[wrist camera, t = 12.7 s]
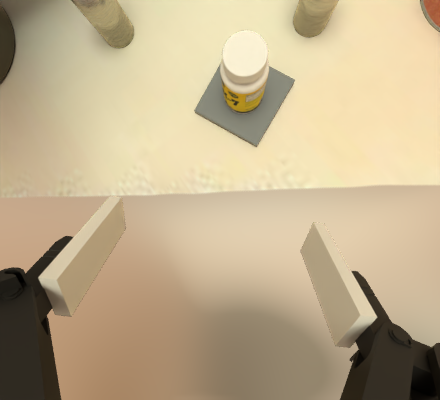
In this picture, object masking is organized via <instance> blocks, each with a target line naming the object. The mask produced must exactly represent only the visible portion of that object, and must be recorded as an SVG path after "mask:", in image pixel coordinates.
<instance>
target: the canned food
mask: <svg viewBox="0 0 440 400" xmlns="http://www.w3.org/2000/svg"><path fill="white" fill-rule="evenodd" d="M420 2H421V7H422V10H423V13H424V15H425V17H426V18H427V20H428V21H429V23H430V24H431V25H432V26H433V27H434V28H435V29H436V30H438V31H439V32H440V0H420Z"/></svg>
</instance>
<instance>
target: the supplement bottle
mask: <svg viewBox="0 0 440 400" xmlns="http://www.w3.org/2000/svg"><path fill="white" fill-rule="evenodd" d="M268 73H269V62H268V47H267V44H266V42H265V40H264V39H263V37H262V36H261V35H259V34H258V33H256V32H254V31H249V30H243V31H239V32H237V33H235V34H233V35H232V36H230V37H229V38H228V40H227V41H226V43H225V44H224V47H223V51H222V61H221V65H220V75H221V81H222V87H223V93H224V99H225V102H226V104H227V106H228V107H229V108H230V109H231V110H232V111H234V112H235V113H238V114H247V113H250V112H252V111H254V110H255V109H256V108H257V107H258V106H259V105H260V103H261V101H262V98H263V94H264V90H265V86H266V82H267V78H268Z"/></svg>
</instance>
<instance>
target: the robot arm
mask: <svg viewBox="0 0 440 400" xmlns="http://www.w3.org/2000/svg"><path fill="white" fill-rule="evenodd" d="M13 54H14V33H13V28H12V25H11V22H10V20H9V18H8V16H7V14H6V12H5V11H4V9H3V8H2V7H1V6H0V82H1V81H2V80H3V79H4V77H5V75H6V74H7V72H8V70H9V68H10V65H11V62H12V59H13ZM125 229H126V227H125V219H124V211H123V202H122V197H117V196H110V197H109V198H108V199H107V200H106V201H105V202H104V203H103V205H102V206H101V207H100V208H99V209H98V210H97V211H96V212H95V214H94V215H93V216H92V217H91V218H90V219H89V220H88V222H87V223H86V224H85V225H84V226H83V227H82V228H81V230H80V231H79V232H78V233H77V234H76V235H75V236H74V237H71V236H65V237H63V238H62V239H60V240H58V241H57V242H55V243H54V244H53V245H52V247H51V248H50V249H49V251H47V252H46V253H45V254H44V255H43V257H41V258H40V259H39V260H38V261H37V262H36V263H35V264H34V265H33V266H32V267H31V269H29V270H28V272H27V273H26V274H25V272H24V270H23V269H21V268H8V269H4V270H1V271H0V400H61V396H60V389H59V383H58V377H57V371H56V365H55V358H54V352H53V346H52V340H51V334H50V328H49V321H48V318H47V314H48V313H49V311H50V310H51V309H53V311H54V313H55V315H61V316H72V315H73V313H74V311H75V310H76V308H77V307H78V305H79V304H80V302H81V300H82V299H83V297H84V295H85V294H86V292H87V291H88V289H89V287H90V286H91V284H92V283H93V281H94V279H95V278H96V276H97V274H98V273H99V271H100V270H101V268H102V266H103V265H104V263H105V262H106V260H107V258H108V257H109V255H110V253H111V252H112V250H113V248H114V247H115V245H116V244H117V242H118V240H119V239H120V237H121V235H122V234H123V232H124V231H125ZM301 254H302V256H303V259H304V262H305V265H306V267H307V270H308V273H309V275H310V278H311V281H312V284H313V286H314V289H315V292H316V295H317V297H318V300H319V303H320V306H321V308H322V311H323V314H324V316H325V319H326V322H327V325H328V328H329V330H330V333H331V336H332V338H333V341H334V344H335V346H339V347H348V348H350V347H351V346H352V345H353V343H355V342H356V344H357V346H358V348H359V350H358V351H357V352H356V353H355V354H354V355H353V356H352V357H351V358H350V361H351V362H352V360H353V363H352V366H351V369H350V372H349V375H348V378H347V381H346V384H345V387H344V390H343V393H342V395H341V398H340V400H440V343H436V344H435V345H434V346H433V347H430V346H427V345H425V344H422V343H420V342H417V341H415V340H413V339H412V338H411V337H410V335H409V334H408V333H407V332H406V331H404V330H403V329H402V328H401V327H400V326H398V325H395V324H393V323H392V322H391V320H390V319H389V317H388V315H387V314H386V312H385V310H384V309H383V308H382V306H381V304H380V302H379V301H378V299H377V297H376V296H375V294H374V293H373V291H372V289H370V286H369V285H368V283H367V281H366V279H365V278H364V277H362V276H361V275H360V274H359V273H358V272H357V271H351V270H350V268H349V267H348V265H347V263H346V261H345V260H344V258H343V256H342V254H341V252H340V251H339V249H338V247H337V245H336V244H335V242H334V240H333V238H332V237H331V235H330V233H329V231H328V229H327V228H326V226H325V224H322V223H315V222H313V224H312V226H311V229H310V231H309V233H308V235H307V238H306V240H305V242H304V245H303V246H302V249H301Z"/></svg>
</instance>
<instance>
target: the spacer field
mask: <svg viewBox="0 0 440 400" xmlns="http://www.w3.org/2000/svg"><path fill="white" fill-rule="evenodd" d="M338 1H339V0H299V3H298V6H297V9H296V13H295V16H294V21H293V22H294V27H295V30H296V31H297V32H298V33H299V34H300V35H302V36H305V37H314V36H316V35H318V34H320V33H321V32H322V31H323V30H324V28H325V26H326V24H327V22H328V20H329V18H330V16H331V15H332V13H333V11H334V9H335V7H336V5H337V3H338ZM72 2H73V3H74V4H75V5H76V6H77V7H78V9H79V10H80V11H81V12H82V13H83V14H84V16H85V17H86V18H87V19H88V20H89V21H90V23H91V24H92V25H93V26H94V27H95V28H96V29H97V31H98V32H99V33H100V34H101V35H102V36H103V38H104V39H105V40H106V41H107V42H108V43H109V44H110V45H111V46H112V47H115V48H123V47H125V46H127V45H128V44H129V43H130V42H131V40H132V39H133V35H134V29H133V26H132V24H131V22H130V21H129V19H128V17H127V16H126V14H125V13H124V11H123V9H122V8H121V6H120V5H119V3H118V1H117V0H72Z"/></svg>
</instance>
